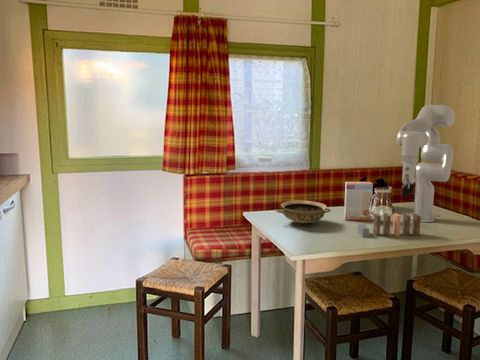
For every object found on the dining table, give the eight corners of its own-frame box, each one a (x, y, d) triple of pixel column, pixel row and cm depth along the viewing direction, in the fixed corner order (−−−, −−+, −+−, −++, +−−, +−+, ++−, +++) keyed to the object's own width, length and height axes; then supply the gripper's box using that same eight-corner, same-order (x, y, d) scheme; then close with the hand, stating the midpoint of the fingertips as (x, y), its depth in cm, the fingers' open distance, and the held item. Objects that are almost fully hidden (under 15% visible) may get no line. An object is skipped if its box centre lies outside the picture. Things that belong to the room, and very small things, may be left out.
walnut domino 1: (376, 233, 219) (377, 213, 218) (379, 236, 215) (380, 215, 213) (373, 233, 219) (374, 213, 218) (376, 236, 215) (377, 215, 213)
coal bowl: (396, 212, 262) (398, 180, 258) (365, 213, 258) (366, 181, 254) (379, 204, 281) (381, 175, 278) (349, 205, 277) (351, 176, 274)
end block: (364, 232, 221) (364, 224, 220) (368, 236, 213) (369, 228, 212) (357, 232, 221) (358, 224, 220) (362, 236, 213) (362, 228, 212)
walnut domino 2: (386, 233, 220) (387, 213, 218) (389, 236, 215) (390, 215, 213) (382, 233, 220) (384, 213, 218) (386, 236, 215) (387, 215, 213)
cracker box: (369, 218, 247) (371, 181, 243) (371, 221, 241) (373, 183, 237) (343, 217, 248) (345, 180, 245) (345, 220, 242) (346, 182, 239)
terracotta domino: (395, 233, 220) (397, 213, 218) (399, 236, 215) (400, 215, 213) (392, 233, 220) (393, 213, 218) (396, 236, 215) (397, 215, 213)
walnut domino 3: (405, 233, 220) (406, 213, 218) (409, 236, 215) (410, 215, 213) (402, 233, 220) (403, 213, 218) (406, 236, 215) (407, 215, 213)
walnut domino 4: (415, 233, 220) (416, 213, 218) (419, 236, 215) (420, 215, 213) (411, 233, 220) (413, 213, 218) (415, 236, 215) (417, 215, 213)
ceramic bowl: (279, 230, 223) (279, 211, 221) (271, 218, 247) (271, 200, 245) (337, 229, 226) (338, 209, 224) (324, 217, 250) (324, 199, 248)
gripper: (415, 162, 202) (412, 198, 205) (421, 157, 216) (418, 191, 219) (397, 161, 205) (395, 197, 208) (404, 156, 220) (402, 190, 223)
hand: (407, 194), depth 214 cm, fingers open, 9 cm apart
